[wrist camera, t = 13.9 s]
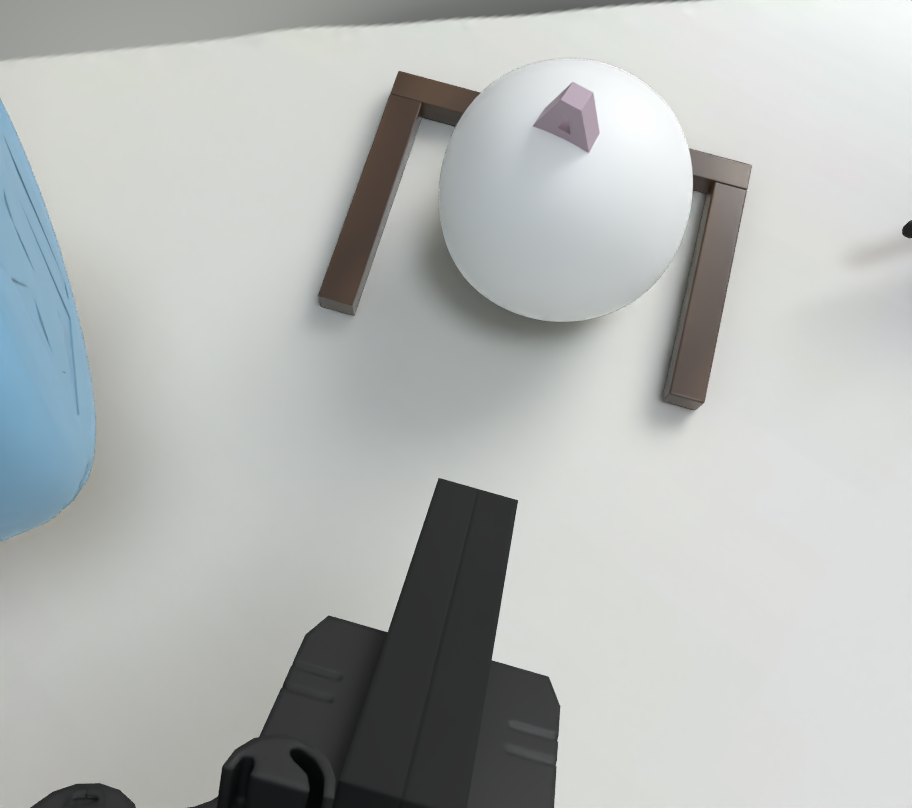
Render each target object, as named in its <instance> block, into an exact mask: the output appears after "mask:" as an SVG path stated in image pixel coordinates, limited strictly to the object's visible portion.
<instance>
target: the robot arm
mask: <svg viewBox="0 0 912 808" xmlns="http://www.w3.org/2000/svg"><path fill="white" fill-rule="evenodd" d="M95 437H96V417H95V405H94V396H93V388H92V381H91V375H90V369H89V363H88V358H87V353H86V348H85V343H84V338H83V334H82V330H81V325H80V321H79V317H78V313H77V309H76V304H75V300H74V296H73V293H72V289H71V286H70V282H69V279H68V275H67V272H66V268H65V265H64V261H63V258H62V255H61V251H60V248H59V245H58V242H57V239H56V236H55V232H54V229H53V226H52V224H51V221H50V218H49V215H48V212H47V209H46V206H45V203H44V200H43V197H42V195H41V192H40V189H39V187H38V184H37V182H36V179H35V176H34V174H33V171H32V169H31V166H30V163H29V161H28V158H27V156H26V154H25V151H24V149H23V147H22V144H21V142H20V139H19V137H18V135H17V132H16V130H15V128H14V126H13V124H12V121H11V119H10V117H9V115H8V113H7V111H6V109H5V107H4V105H3V103H2V101H1V99H0V542H1V541H3V540H6V539H8V538H10V537H13V536H15V535H18V534H20V533H22V532H25V531H27V530H30V529H32V528H34V527H37V526H39V525H41V524H44V523H46V522H48V521H49V520H51V519H52V518H54V517H55V516H56V515H57V514H58V513H60V512H61V510H62V509H64V508H65V507H67V506H68V505H69V504H70V503H71V502H72V501H73V500H74V499H75V497H76V496H77V494H78V493H79V491H80V490H81V488H82V487H83V485H84V484H85V482H86V481H87V479H88V476H89V473H90V471H91V467H92V463H93V458H94V453H95ZM517 503H518V500H515V499H511V498H508V497H504V496H501V495H497V494H494V493H490V492H487V491H483V490H479V489H476V488H472V487H469V486H465V485H462V484H458V483H455V482H451V481H447V480H444V479H440V478H439V479H438V482H437V485H436V488H435V491H434V494H433V497H432V500H431V503H430V506H429V509H428V512H427V515H426V518H425V521H424V524H423V527H422V530H421V533H420V536H419V539H418V542H417V545H416V548H415V551H414V555H413V558H412V561H411V564H410V567H409V570H408V573H407V576H406V579H405V582H404V585H403V588H402V591H401V594H400V597H399V600H398V603H397V606H396V609H395V612H394V615H393V618H392V621H391V624H390V627H389V630H388V632H384V631H381V630H377V629H374V628H370V627H367V626H363V625H360V624H357V623H353V622H350V621H346V620H343V619H339V618H336V617H332V616H327V617H326V618H325V619H324V620H323V621H321V622H320V623H319V624H318V625H317V626H315V627H314V628H313V629H312V630H311V631H309V632H308V633H307V634H306V635H305V637H304V639H303V641H302V644H301V646H300V648H299V650H298V652H297V655H296V657H295V659H294V661H293V665H292V666H291V668H290V670H289V672H288V674H287V677H286V679H285V681H284V684H283V687H282V688H281V690H280V692H279V694H278V697H277V699H276V701H275V703H274V705H273V708H272V710H271V712H270V714H269V716H268V719H267V721H266V723H265V725H264V727H263V730H262V732H261V734H260V736H259V737H258V738H254V739H252V740H250V741H249V742H247V743H245V744H244V745H242V746H240V747H239V748H237V749H235V751H234V752H233V753H232V754H231V756H230V757H229V758H228V760H227V761H226V762H225V764H224V765H223V766H222V773H221V780H220V787H219V795H218V797H216V798H215V799H213V800H211V801H209V802H206V803H203V804H201V805H198V806H195V807H189V808H554V798H555V782H556V761H557V749H558V742H557V739H558V733H559V717H560V705H559V702H558V700H557V697H556V694H555V692H554V689H553V687H552V684H551V682H550V679H549V677H547V676H544V675H540V674H537V673H533V672H530V671H527V670H523V669H520V668H516V667H513V666H509V665H506V664H502V663H499V662H495V661H492V654H493V648H494V642H495V636H496V630H497V624H498V618H499V612H500V606H501V599H502V593H503V587H504V581H505V575H506V569H507V563H508V557H509V551H510V545H511V539H512V533H513V527H514V521H515V515H516V509H517ZM31 808H136V807H135V804H134V803H133V802H132V801H131V800H130V799H129V798H128V797H127V796H126V795H125V794H123V793H122V792H121V791H120V790H118V789H115V788H112V787H109V786H106V785H103V784H100V783H95V784H75V785H72V786H69V787H66V788H63V789H60V790H57V791H54V792H52V793H50V794H49V795H48V796H46V797H45V798H43V799H42V800H41V801H39V802H38V803H36V804H35V805H34V806H32V807H31Z"/></svg>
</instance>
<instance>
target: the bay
mask: <svg viewBox="0 0 912 808" xmlns="http://www.w3.org/2000/svg"><path fill="white" fill-rule="evenodd" d="M479 94H480V92H476V91H472V90H469V89H465V88H461V87H457V86H454V85H450V84H446V83H442V82H439V81H435V80H431V79H427V78H424V77H420V76H416V75H412V74H409V73H405V72H401V71H399V72H398V74H397V77H396V80H395V83H394V85H393V88H392V91H391V94H390V96H389V99H388V102H387V105H386V107H385V110H384V113H383V116H382V119H381V121H380V124H379V127H378V130H377V133H376V135H375V138H374V141H373V144H372V147H371V149H370V152H369V155H368V158H367V161H366V163H365V166H364V169H363V172H362V175H361V177H360V180H359V183H358V186H357V189H356V191H355V194H354V197H353V200H352V203H351V205H350V208H349V211H348V214H347V217H346V219H345V222H344V225H343V228H342V231H341V233H340V236H339V239H338V242H337V245H336V247H335V250H334V253H333V256H332V258H331V261H330V264H329V267H328V270H327V272H326V275H325V278H324V281H323V284H322V286H321V289H320V292H319V295H318V297H319V300H320V304H321V306H322V307H325V308H329V309H332V310H336V311H339V312H343V313H347V314H350V315H355V312H356V309H357V306H358V303H359V300H360V297H361V294H362V291H363V289H364V286H365V283H366V280H367V277H368V274H369V271H370V268H371V265H372V262H373V259H374V256H375V253H376V250H377V247H378V245H379V242H380V239H381V236H382V233H383V230H384V227H385V224H386V221H387V218H388V215H389V212H390V209H391V206H392V203H393V201H394V198H395V195H396V192H397V189H398V186H399V183H400V180H401V177H402V174H403V171H404V168H405V165H406V162H407V159H408V157H409V154H410V151H411V148H412V145H413V142H414V139H415V136H416V133H417V130H418V127H419V124H420V121H421V118H422V117H425V118H428V119H432V120H436V121H439V122H443V123H447V124H451V125H454V126H456V125H457V124H458V122H459V120H460V118H461V117H462V115H463V114H464V112H465V111H466V109H467V108H468V107H469V105H470V104H471V103H472V102H473V101H474V99H475V98H476V97H477V96H478V95H479ZM689 152H690V157H691V163H692V173H693V190H696V191H700V192H703V193H707V195H706V200H705V204H704V209H703V214H702V218H701V223H700V228H699V232H698V237H697V241H696V246H695V251H694V255H693V260H692V265H691V269H690V274H689V278H688V283H687V288H686V292H685V297H684V302H683V306H682V311H681V316H680V320H679V325H678V329H677V334H676V339H675V343H674V348H673V353H672V357H671V362H670V366H669V371H668V376H667V380H666V385H665V390H664V394H663V401H664V402H668V403H672V404H675V405H679V406H682V407H686V408H689V409H693V410H697V409H698V408H699V407H700V406H701V405H702V404H703V403H704V402H705V397H706V392H707V387H708V382H709V377H710V372H711V367H712V362H713V357H714V352H715V347H716V342H717V337H718V332H719V327H720V322H721V317H722V312H723V307H724V302H725V297H726V292H727V287H728V282H729V277H730V272H731V267H732V262H733V257H734V252H735V247H736V242H737V237H738V232H739V227H740V222H741V217H742V212H743V207H744V202H745V197H746V190H747V188H748V183H749V178H750V173H751V168H752V165H749V164H746V163H742V162H738V161H734V160H731V159H727V158H723V157H719V156H716V155H712V154H708V153H704V152H701V151H697V150H693V149H689Z"/></svg>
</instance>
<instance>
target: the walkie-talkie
mask: <svg viewBox="0 0 912 808" xmlns="http://www.w3.org/2000/svg"><path fill="white" fill-rule="evenodd" d="M902 234H903V235H904V236H905V237H907V238H912V220H911V221H909V222H908V223H907V224H906V225H905V226H904V227H903V230H902Z"/></svg>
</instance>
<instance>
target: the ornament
mask: <svg viewBox="0 0 912 808" xmlns="http://www.w3.org/2000/svg"><path fill="white" fill-rule="evenodd" d="M692 193H693V173H692V163H691V157H690V152H689V148H688V144H687V141H686V138H685V135H684V133H683V130H682V128H681V126H680V124H679V122H678V120H677V118H676V116H675V115H674V113H673V111H672V110H671V109H670V107H669V106H668V104H667V103H666V102H665V101H664V100H663V98H662V97H661V96H660V95H659V94H658V93H657V92H656V91H655V90H653V89H652V88H651V87H650V86H649V85H647V84H646V83H645V82H643V81H642V80H640V79H639V78H637V77H635V76H634V75H632V74H630V73H628V72H626V71H624V70H622V69H620V68H617V67H615V66H612V65H609V64H606V63H603V62H599V61H594V60H589V59H580V58H559V59H550V60H544V61H539V62H535V63H531V64H528V65H525V66H522V67H520V68H517V69H515V70H513V71H511V72H509V73H507V74H505V75H503V76H502V77H500V78H498V79H497V80H496V81H494V82H493V83H491V84H490V85H489V86H488V87H487V88H485V89H484V90H483V91H482V92H481V93H480V94H479V95H478V96H477V97H476V98H475V99H474V101H473V102H472V103H471V104H470V105H469V107H468V108H467V109H466V111H465V112H464V114H463V115H462V117H461V118H460V120H459V122H458V124H457V125H456V127H455V129H454V131H453V134H452V136H451V138H450V141H449V143H448V146H447V149H446V152H445V156H444V159H443V164H442V168H441V174H440V182H439V214H440V222H441V227H442V232H443V236H444V239H445V242H446V245H447V248H448V250H449V253H450V255H451V257H452V259H453V261H454V263H455V264H456V266H457V268H458V269H459V271H460V272H461V273H462V275H463V276H464V277H465V279H466V280H467V281H468V282H469V283H470V284H471V285H472V286H473V287H474V288H475V289H476V290H477V291H478V292H479V293H481V294H482V295H483V296H485V297H486V298H487V299H489V300H490V301H492V302H493V303H495V304H497V305H499V306H501V307H502V308H504V309H507V310H509V311H511V312H514V313H516V314H519V315H522V316H525V317H529V318H533V319H538V320H544V321H554V322H570V321H581V320H587V319H592V318H596V317H600V316H603V315H606V314H609V313H612V312H614V311H617V310H619V309H621V308H623V307H625V306H627V305H628V304H630V303H632V302H633V301H635V300H636V299H638V298H639V297H640V296H642V295H643V294H644V293H645V292H646V291H648V290H649V289H650V288H651V287H652V286H653V285H654V284H655V283H656V282H657V280H658V279H659V278H660V277H661V276H662V274H663V273H664V272H665V270H666V269H667V267H668V266H669V264H670V263H671V261H672V259H673V258H674V256H675V254H676V252H677V250H678V248H679V245H680V243H681V241H682V238H683V235H684V232H685V229H686V226H687V223H688V219H689V214H690V209H691V203H692Z"/></svg>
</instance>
